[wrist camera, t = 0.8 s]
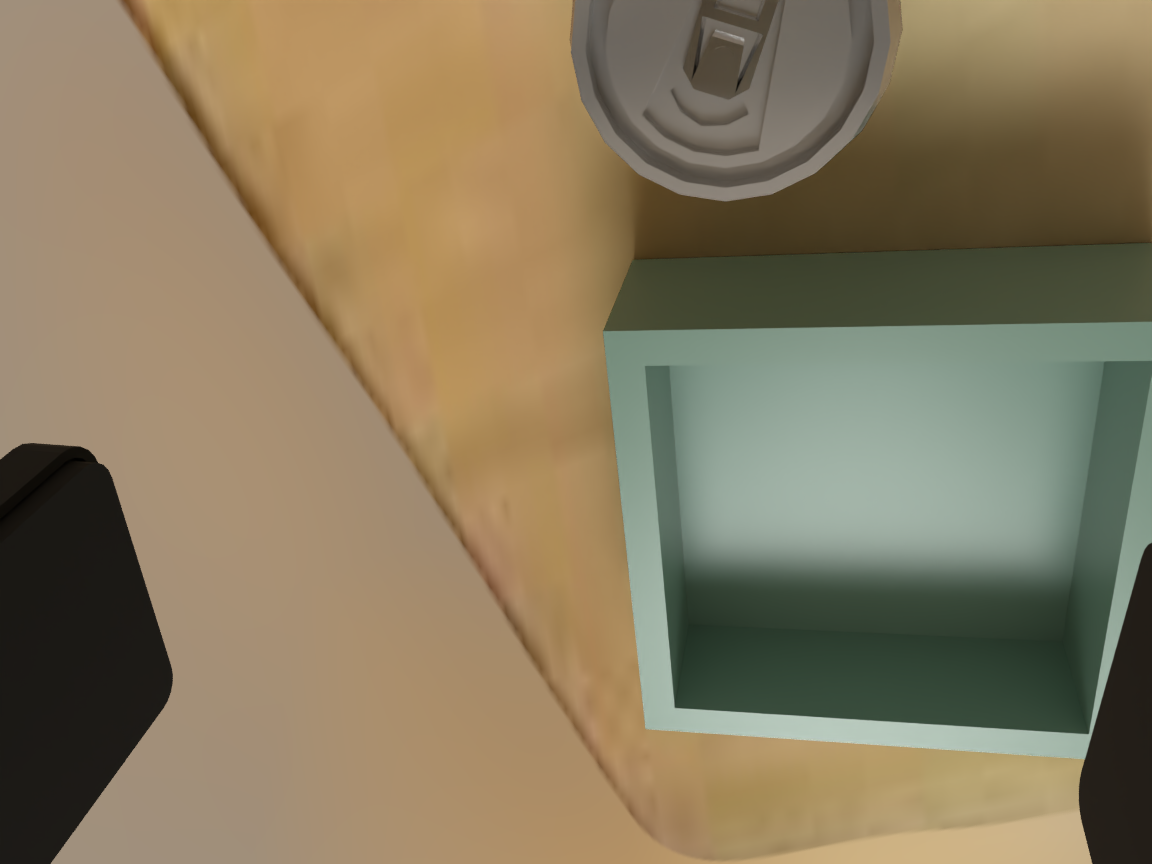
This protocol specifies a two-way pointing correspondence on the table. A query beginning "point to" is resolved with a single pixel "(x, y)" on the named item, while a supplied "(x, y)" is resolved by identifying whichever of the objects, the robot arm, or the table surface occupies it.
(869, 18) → the beer can
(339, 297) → the table surface
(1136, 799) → the robot arm
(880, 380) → the open rectangular storage bin
